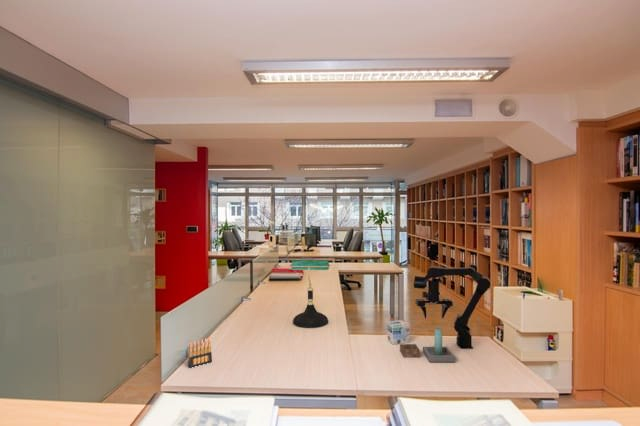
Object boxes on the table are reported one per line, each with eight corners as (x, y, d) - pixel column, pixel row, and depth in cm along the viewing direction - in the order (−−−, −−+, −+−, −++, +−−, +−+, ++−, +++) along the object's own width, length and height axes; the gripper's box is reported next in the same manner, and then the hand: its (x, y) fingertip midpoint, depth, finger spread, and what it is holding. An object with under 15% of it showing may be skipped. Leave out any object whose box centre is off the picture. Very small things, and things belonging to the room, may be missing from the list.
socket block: (415, 350, 179) (415, 344, 179) (419, 357, 171) (419, 350, 171) (400, 351, 179) (399, 344, 179) (403, 357, 171) (403, 350, 171)
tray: (446, 352, 176) (446, 346, 176) (455, 362, 164) (455, 356, 164) (422, 352, 176) (422, 346, 176) (429, 362, 164) (429, 356, 164)
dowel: (439, 354, 173) (439, 328, 173) (443, 357, 169) (443, 330, 169) (433, 355, 171) (433, 329, 171) (437, 358, 168) (437, 331, 168)
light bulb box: (392, 345, 187) (392, 324, 187) (387, 340, 193) (386, 321, 193) (410, 342, 190) (410, 323, 190) (404, 338, 196) (404, 319, 196)
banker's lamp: (332, 317, 237) (331, 258, 237) (329, 328, 214) (329, 263, 214) (293, 316, 239) (292, 258, 239) (287, 327, 217) (286, 263, 217)
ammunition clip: (210, 361, 169) (210, 336, 169) (212, 362, 167) (211, 337, 167) (188, 367, 162) (187, 341, 162) (189, 368, 161) (189, 342, 161)
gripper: (445, 286, 198) (446, 314, 198) (412, 286, 198) (413, 314, 198) (453, 290, 187) (453, 320, 187) (417, 291, 187) (418, 320, 187)
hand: (433, 318), depth 190 cm, fingers open, 9 cm apart
